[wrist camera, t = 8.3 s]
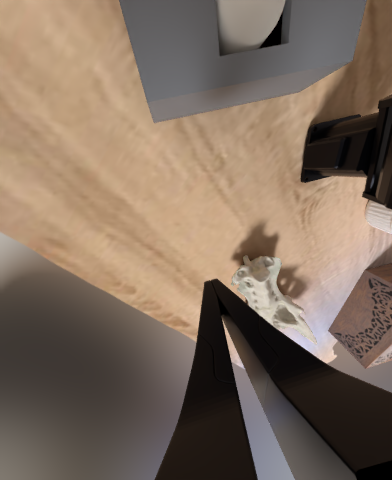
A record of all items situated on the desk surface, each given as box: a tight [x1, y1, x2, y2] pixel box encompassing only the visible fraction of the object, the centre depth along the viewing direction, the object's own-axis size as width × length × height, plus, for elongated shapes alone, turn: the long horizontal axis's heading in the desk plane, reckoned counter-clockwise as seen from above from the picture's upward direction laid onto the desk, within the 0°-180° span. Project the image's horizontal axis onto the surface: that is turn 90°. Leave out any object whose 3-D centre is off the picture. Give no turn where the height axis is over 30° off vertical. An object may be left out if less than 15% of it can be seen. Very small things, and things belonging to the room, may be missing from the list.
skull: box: [231, 255, 317, 345], centre depth 27 cm, size 12×8×25 cm
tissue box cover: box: [328, 264, 392, 368], centre depth 35 cm, size 26×14×10 cm, turn 6°
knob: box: [215, 0, 285, 56], centre depth 10 cm, size 4×4×4 cm
